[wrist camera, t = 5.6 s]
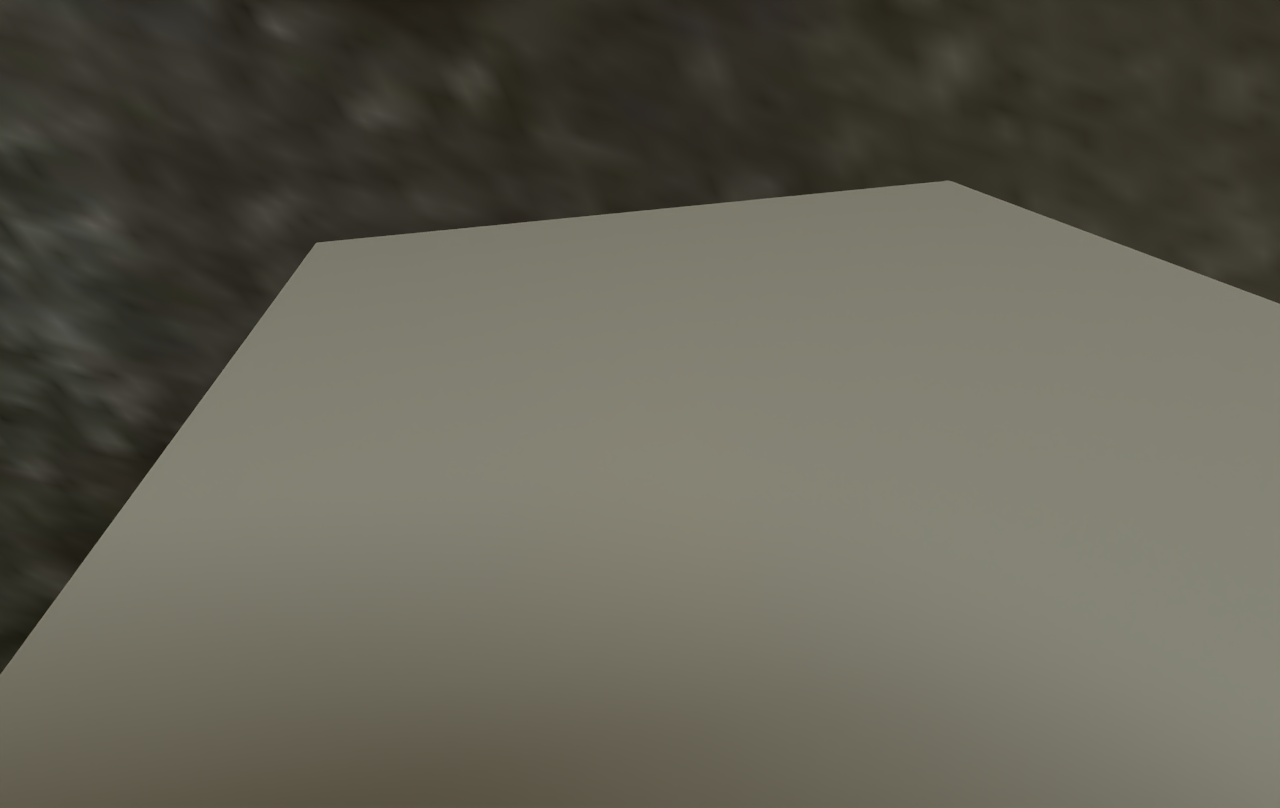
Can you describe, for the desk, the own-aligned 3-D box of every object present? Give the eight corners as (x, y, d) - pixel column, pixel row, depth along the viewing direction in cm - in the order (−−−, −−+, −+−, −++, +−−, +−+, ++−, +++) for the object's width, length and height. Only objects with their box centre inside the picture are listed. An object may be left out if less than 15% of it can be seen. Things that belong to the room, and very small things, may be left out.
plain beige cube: (904, 654, 14) (1444, 1495, 6) (429, 734, 13) (340, 1844, 5) (949, 181, 11) (2277, 679, 3) (316, 242, 10) (-430, 1263, 2)
